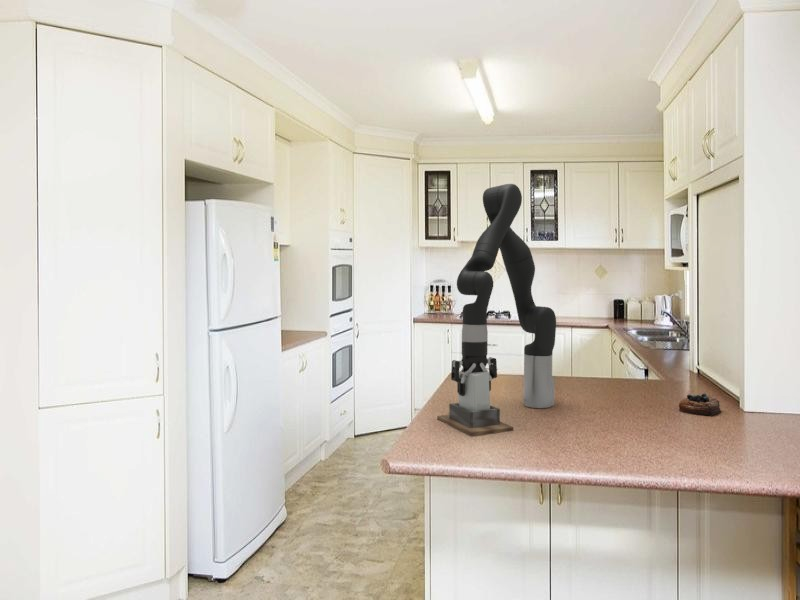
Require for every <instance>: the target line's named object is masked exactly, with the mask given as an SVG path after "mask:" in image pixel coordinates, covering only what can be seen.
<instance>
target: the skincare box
mask: <svg viewBox="0 0 800 600" xmlns="http://www.w3.org/2000/svg"><path fill="white" fill-rule="evenodd" d="M488 372H489V371H488ZM488 372H475V373H471V374H469V377H467V378H466V380H465V381H464V383H465V395H464V396H460V395H459V393H458V392H457V394H458V403H459V406H460V407H462V408H464V409H467V410H469V411H479V410H488V409H490V405H491V397H490V396H491V395H490V393H491V391H490V392H489V373H488ZM464 373H466V372H464ZM459 375H460V371H459Z"/></svg>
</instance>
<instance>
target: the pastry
mask: <svg viewBox="0 0 800 600" xmlns="http://www.w3.org/2000/svg"><path fill="white" fill-rule="evenodd" d="M720 406H721V405H720V401H719V399H717V398H716V397H712V396H711V395H707V394H706V393H702V394H701V395H699V394H691V393H689V394H687V395H686V398H683V399H681V400H680V401H679V403H678V408H679V409H678V411H679V412H680V413H683V414H684V413H685V414H688V415H694V416H695V415H696V416H704V417H713V416H716V415H718V414H719V413H722V411H721V407H720Z"/></svg>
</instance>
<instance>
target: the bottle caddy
mask: <svg viewBox="0 0 800 600" xmlns="http://www.w3.org/2000/svg"><path fill="white" fill-rule="evenodd" d="M448 406H449V407H448V412H449V414H442V415H437V417H436V419H437V420H438V421H440V422H441V423H444V424H446V425H447V426H450V427H452V428H454V429H456V430H458V431H460V432H462V433H464V434H466V435H468V436H469V437H476V436H483V435H492V434H497V433H498V434H499V433H506V432H511V431H512V432H513V431H514V426H512V425H510V424H507V423H505V422H503V421H501V420H500V419H501V416H500V415H501V409H500V408H498V407H496V406H493V405H491V404H490V409H488V410H479V411H469V410H467V409H464V408H462V407H460V406H459V402H452V403H451V402H450V403H449V404H448Z"/></svg>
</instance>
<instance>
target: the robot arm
mask: <svg viewBox="0 0 800 600" xmlns="http://www.w3.org/2000/svg"><path fill="white" fill-rule="evenodd" d="M522 201H523V196H522V192H521V189H520V188H519V187H518V185H516V184H514V183H506V184H500V185H496V186H492V187H488V188H486V189H485V190H484V191H483V194H482V203H483V207H484V211H485V214H486V216H487V218H488V222H489V225H488V227H486V229H485V230H484V231H483V232H482V233H481V235H480V236H479V238H478V239H477V241H476V243H475V246H474V248H473V252H472V254H471V257H470V258H469V259H468V261H467V262H466V264H465V265H464V266H463V268H462V269H461V270H460V273H458V276H457V279H456V288H457V289H456V290H458V292H459V293H460V294H462V295H464V296H476V299H475V301H474V302H472V303H466V304H464V305H463V306H462V328H461V356H462V357H461V360H456V359H453V360H452V361H451V371H450V372H451V374H450V380H451V381H454V382H456V384H457V385H456V386H457V389H456V391H457V394H458V393H459V394H458V396H459V395H460V396H464V395H465V383H464V381H465V380H466V378H467V377H469V374H471V373H475V372H488V373H489V392H490V393H491V390H492V380H494V379H497V377H498V369H497V368H498V367H497V365H498V364H497V363H498V362H497V358H495V357H491V356H490V357H487V356H488V338H489V337H488V336H489V335H488V325H487V324H488V316H487V315H488V308H489V307H488V306H489V303H490V299H491V296H492V292H493V289H494V279H493V276H492V275H491V274H490V273H489V272H488V271H490V270H492V269H493V267H494V265H495V262H496V260H497V258H498V257H497V256H498V254H499V250H500V254H501V257H502V262H503V264H504V269H505V270H506V271H505V272H506V274H507V277H508V279H509V282H510V283H509V284H510V287H511V290H512V295H513V298H514V302H515V308H516V313H517V317H518V321H519V325H520V327H521V328H522V330H523V331H524V332H526V333H528V334H534V338H533V341H532V342H531V343H527V344H526V345H525V346H524V347H523V348H524V349H523V351H524V352H523V406H524V407H525V406H526V407H528V408H533V409H546V408H547V409H548V408H551V407H554V406H555V379H556V378H555V377H554V376H553V353H554V352H553V351H554V348H555V344H556V332H557V317H556V313H555V311H554V310H553V309H552V308H551V307H548V306H539V305H538V306H537V305H536V303H535V301H534V298H533V294H532V286H533V281H534V277H535V273H536V265H535V262H534V258H533V255H532V251H531V249H530V247H529V246H528V244H527V243H526V242H525V241H524V239H522V238H521V237H520V236H519V235H518V234H517V233H516V232H515V231H514V230H513V228H512V227H511V226H512V224H513V222H514V220H515V218H516V216H517V215H518V213H519V211H520V209H521V206H522ZM461 366H462V368H461ZM486 366H488V369H487V367H486ZM460 368H461V370H460ZM459 372H460V375H459ZM464 372H466V373H464Z"/></svg>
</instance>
